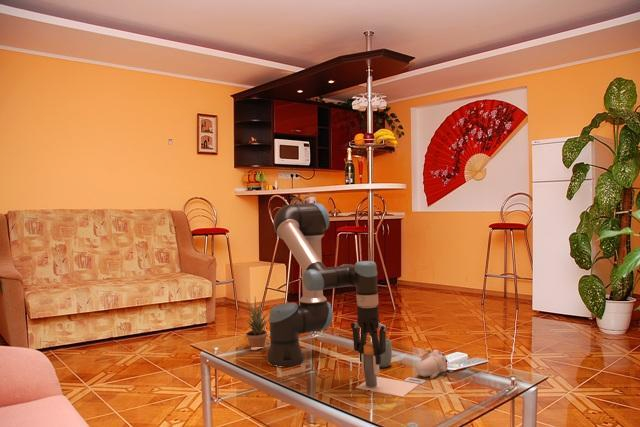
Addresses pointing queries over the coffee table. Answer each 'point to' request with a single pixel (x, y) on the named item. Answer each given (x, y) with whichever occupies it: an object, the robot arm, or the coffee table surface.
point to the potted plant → (256, 328)
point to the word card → (414, 380)
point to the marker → (369, 365)
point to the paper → (390, 387)
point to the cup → (386, 354)
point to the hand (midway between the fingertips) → (370, 372)
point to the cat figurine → (431, 364)
